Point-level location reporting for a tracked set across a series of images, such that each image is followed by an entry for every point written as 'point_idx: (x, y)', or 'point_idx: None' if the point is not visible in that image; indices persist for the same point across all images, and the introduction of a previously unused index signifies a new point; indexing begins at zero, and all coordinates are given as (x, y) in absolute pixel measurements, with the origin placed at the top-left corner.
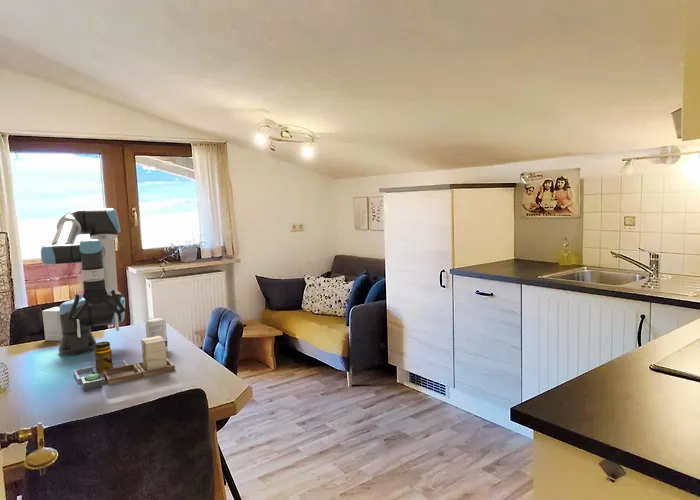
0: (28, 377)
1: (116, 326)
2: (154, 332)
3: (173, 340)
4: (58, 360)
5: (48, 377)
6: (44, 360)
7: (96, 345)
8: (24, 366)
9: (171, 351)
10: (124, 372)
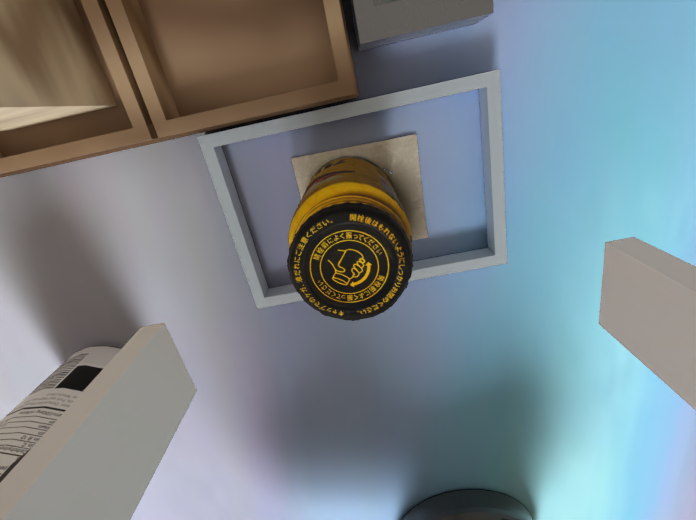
0: None
1: (147, 383)
2: (13, 450)
3: None
4: (543, 458)
5: None
6: (592, 479)
7: (401, 233)
8: (672, 445)
9: None
10: (227, 81)
